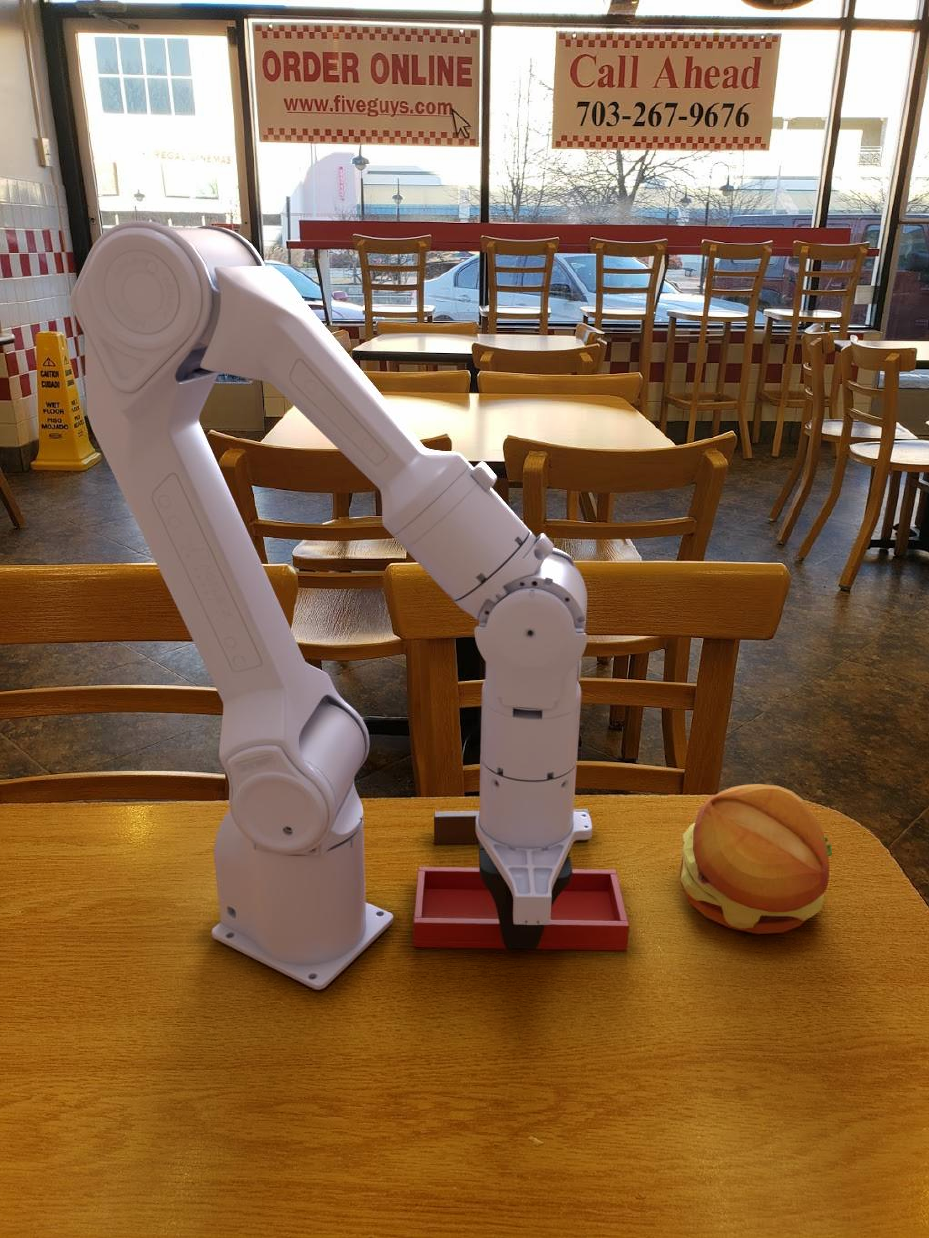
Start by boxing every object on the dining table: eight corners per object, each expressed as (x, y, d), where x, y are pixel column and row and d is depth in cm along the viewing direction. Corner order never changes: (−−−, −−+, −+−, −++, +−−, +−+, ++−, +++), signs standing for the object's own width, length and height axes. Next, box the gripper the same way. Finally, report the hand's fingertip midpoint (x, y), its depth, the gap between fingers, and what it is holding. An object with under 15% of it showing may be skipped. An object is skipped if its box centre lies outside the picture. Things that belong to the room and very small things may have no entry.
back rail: (588, 841, 73) (590, 814, 72) (434, 844, 72) (434, 816, 71) (586, 835, 74) (588, 808, 73) (433, 838, 73) (433, 811, 72)
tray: (627, 950, 62) (629, 925, 61) (413, 947, 62) (413, 922, 61) (614, 892, 67) (616, 869, 66) (418, 889, 67) (418, 866, 66)
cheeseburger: (801, 853, 72) (832, 758, 66) (832, 977, 63) (870, 880, 57) (667, 843, 72) (685, 747, 67) (679, 964, 64) (701, 866, 58)
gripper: (613, 827, 49) (597, 1029, 54) (582, 703, 62) (571, 873, 67) (477, 825, 49) (473, 1028, 54) (476, 701, 62) (472, 872, 67)
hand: (520, 942), depth 60 cm, fingers closed
